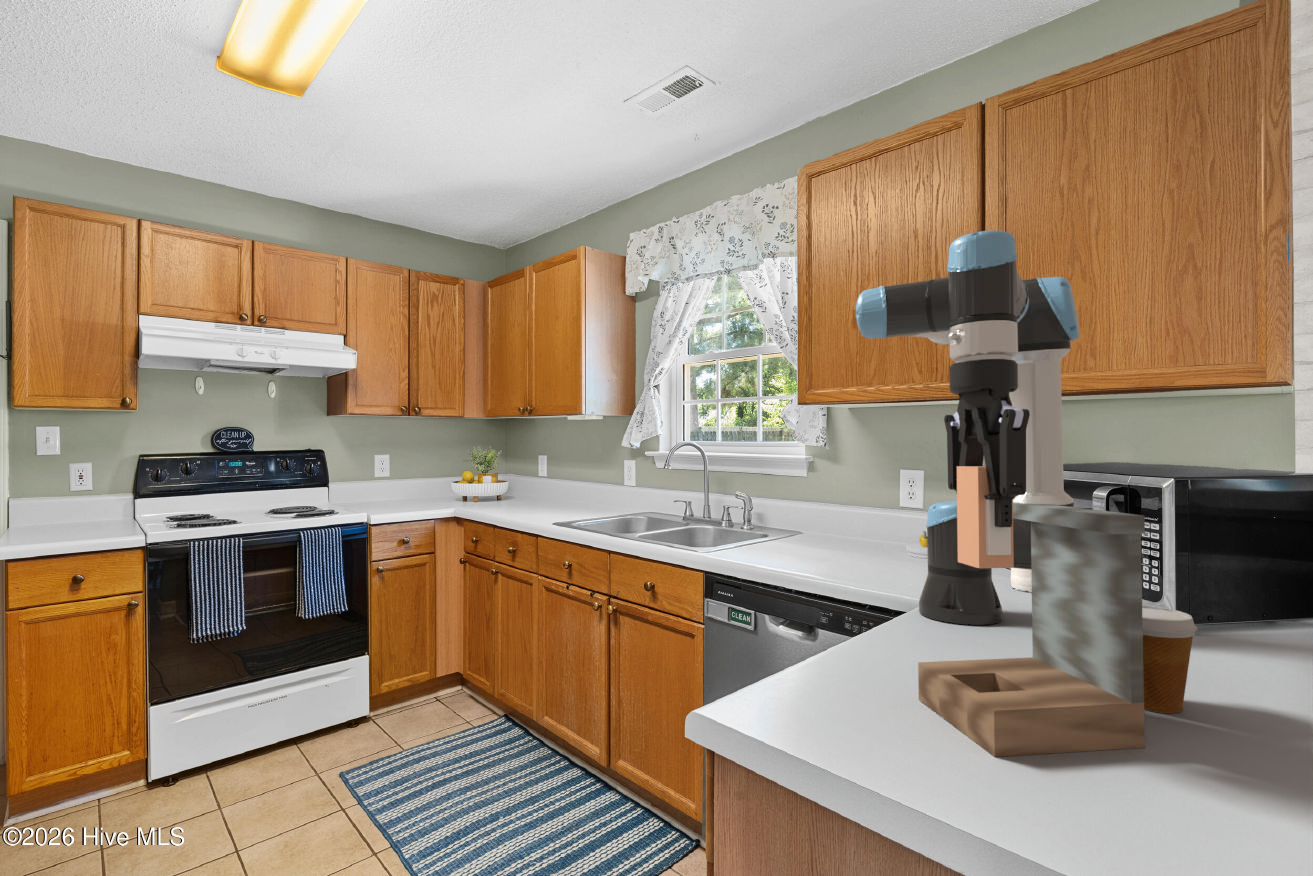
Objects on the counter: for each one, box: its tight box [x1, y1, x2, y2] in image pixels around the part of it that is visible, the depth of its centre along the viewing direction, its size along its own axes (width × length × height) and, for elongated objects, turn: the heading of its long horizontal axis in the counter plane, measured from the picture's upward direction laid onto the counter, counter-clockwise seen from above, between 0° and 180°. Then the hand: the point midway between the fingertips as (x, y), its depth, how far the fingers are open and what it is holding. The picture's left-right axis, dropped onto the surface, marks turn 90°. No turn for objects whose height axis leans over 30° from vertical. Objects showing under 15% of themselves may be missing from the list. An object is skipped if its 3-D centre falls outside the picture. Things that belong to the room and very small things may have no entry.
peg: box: [956, 465, 1014, 569], centre depth 79 cm, size 4×4×12 cm
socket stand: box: [917, 503, 1146, 758], centre depth 79 cm, size 17×18×26 cm
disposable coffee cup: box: [1142, 604, 1198, 714], centre depth 85 cm, size 10×10×12 cm
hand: (985, 550), depth 79 cm, fingers closed on peg, 4 cm apart
